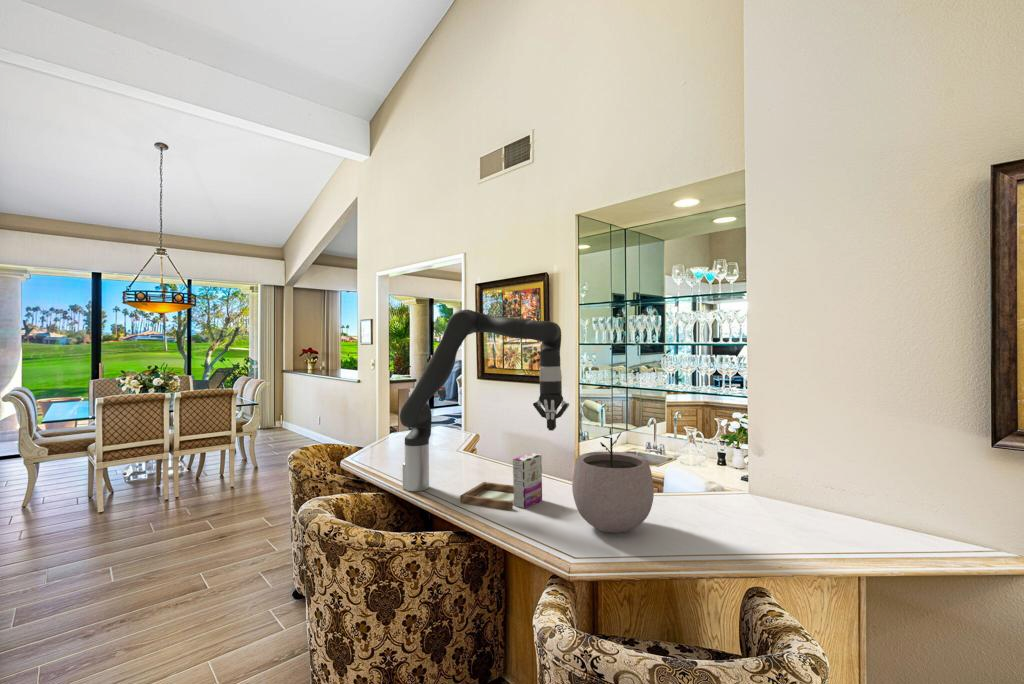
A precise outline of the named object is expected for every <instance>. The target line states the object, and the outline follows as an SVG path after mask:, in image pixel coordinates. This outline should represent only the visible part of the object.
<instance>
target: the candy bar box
mask: <svg viewBox="0 0 1024 684" xmlns="http://www.w3.org/2000/svg"><path fill="white" fill-rule="evenodd" d="M542 468H543V467H542V454H541V453H537V452H536V453H534V452H530V453H527V454H524V455H521V456H517V457H515V458H512V475H513V476H512V478H513V482H512V483H513V486H514V505H513V506H514V507H516V508H522V509H527V508H528V507H531V506H532V505H535V504H536V503H538V502H541V501H542V500H543V478H542V477H543V475H542V473H543V472H542V471H543V470H542Z"/></svg>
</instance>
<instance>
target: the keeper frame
mask: <svg viewBox="0 0 1024 684" xmlns="http://www.w3.org/2000/svg"><path fill="white" fill-rule="evenodd" d="M484 490H485V491H484ZM476 495H477V496H476ZM459 502H460V503H461V504H467V505H473V506H478V507H479V506H480V507H487V508H491V509H492V508H493V509H498V508H499V509H500V510H507V511H512V510H513V509H514V507H513V506H514V486H513V485H512V484H503V483H496V482H488V481H487V482H486V481H483V482H481V483H479V484H478V485H476V486H475V487H473V488H471V489H469V490H467V491H465V492H464V493H462V494H461V495H460V496H459Z"/></svg>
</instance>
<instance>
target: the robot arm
mask: <svg viewBox="0 0 1024 684" xmlns="http://www.w3.org/2000/svg"><path fill="white" fill-rule="evenodd" d="M447 322H448V323H447V325H446V327H445V330H444V333H443V335H442V337H441V340H440V342H439V344H438V345H437V346H436V349H435V350H434V352H433V354H432V356H431V357H430V359H429V361H428V363H426V367H425V369H424V370H423V373H422V375H421V376H420V378H419V380H418V382H417V383H416V386H415V387H414V390H413V391H412V393H411V394H410V395H409V396H408V398H407V400H406V401H405V402H404V404H403V406H402V407H401V410H400V412H399V420H400V423H401V425H402V426H403V427H406V428H411V430H410V431H409V433H408V434H406V436H405V437H404V463H402V489H403V490H405V491H407V492H421V491H426V490H428V489H429V488H430V442H429V441H430V437H431V434H432V419H433V417H432V410H431V407H430V405H429V404H428V401H429V400H430V399H431V398H432V397H433V396H434V395H435V394H436V393H437V392H438V391H440V389H441V388H443V386H444V385H445V384H446V382H448V380H449V378H450V376H451V374H452V372H453V370H454V367H455V363H456V359H457V354H458V351H459V348H460V347H461V345H462V343H463V342H464V341H465V340H466V338H467V337H468V335H471V334H475V333H491V334H496V335H499V336H503V337H507V338H511V339H521V340H533V341H539V342H541V343H542V344H541V351H540V354H539V397H538V400H537V401H535V402H533V404H532V406H533V407H534V408H535V410H536V411H537V412H538V414H539V416H541V417H542V418H543V419H544V418H545V420H546V428H547V430H548V431H550V432H551V431H554V430H555V429H556V428H557V419H559V418H561V417H562V416H563V415H564V413H565V412H566V411H567V409H568V408H569V406H570V403H569V402H567V401H565V400H564V397H563V393H562V392H563V390H562V389H563V387H562V386H563V385H562V384H563V383H562V379H563V378H562V369H561V346H562V344H561V343H562V329H561V326H559V324H558V323H556V322H553V321H547V320H531V319H525V318H518V317H509V316H508V317H507V316H494V315H489V314H485V313H481V312H478V311H475V310H471V309H461V310H458V311H455V312H454V313H453V314H452V315H451V316H450V317H449V320H448V321H447ZM560 406H561V408H560V409H559V407H560ZM558 409H559V410H558Z"/></svg>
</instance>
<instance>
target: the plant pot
mask: <svg viewBox="0 0 1024 684" xmlns="http://www.w3.org/2000/svg"><path fill="white" fill-rule="evenodd" d="M608 433H609V436H605V435H602V438H604V439H609V443H610V444H609V447H610V448H608V447H607V445H605V444H604V443H603V442H599V443H600V446H601V447H603V448H605V450H606V451H593V452H592V451H591V452H587V453H582V454H580V455H578V456H577V458H576V461H575V465H574V469H573V473H572V474H573V475H572V482H571V483H572V485H571V486H572V487H571V490H572V495H573V500H574V503H575V506H576V507H575V508H576V509H577V511H578V513H579V515H580V516H581V518H582V519H584V521H585V522H587V524H588V525H590V526H592V527H594V528H595V529H598V530H599V531H602V532H605V533H614V534H620V533H626V532H629V531H632V530H634V529H636V528H637V527H639V526H641V524H643V522H644V521H645V520H646V519H647V518H648V516H649V515H650V512H651V510H652V507H653V503H654V494H655V493H654V479H653V474H652V471H651V466H650V463H649V459H648V458H646V457H644V456H642V455H639V454H634V453H630V452H629V453H628V452H621V451H613V446H614V444H615V446H616V445H617V444H616V443H617V440H619V437H620V436H621V434H622V431H620V433H619V434H618V435H617V437H616V439H615V440H614V441H613V437H612V428H611V427H609V432H608ZM609 449H610V450H609Z"/></svg>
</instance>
